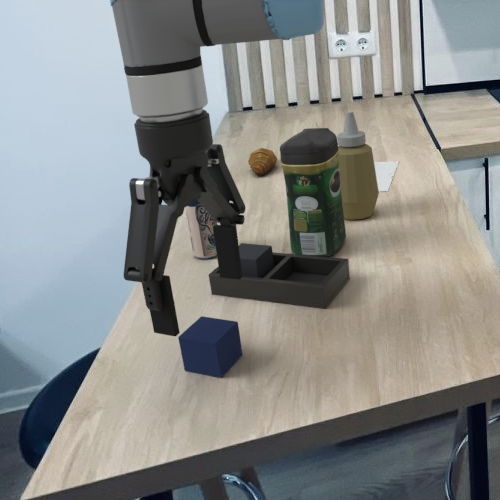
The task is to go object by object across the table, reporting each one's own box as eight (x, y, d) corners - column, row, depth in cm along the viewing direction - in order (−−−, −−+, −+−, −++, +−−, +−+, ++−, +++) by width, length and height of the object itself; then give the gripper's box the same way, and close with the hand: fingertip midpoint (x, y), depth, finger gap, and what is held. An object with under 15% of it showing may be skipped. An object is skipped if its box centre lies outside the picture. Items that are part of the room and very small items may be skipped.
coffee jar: (305, 235, 109) (294, 124, 102) (351, 237, 106) (343, 123, 99) (283, 258, 101) (270, 140, 94) (333, 262, 98) (322, 139, 91)
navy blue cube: (243, 355, 77) (237, 321, 75) (221, 378, 73) (215, 343, 71) (207, 348, 79) (201, 315, 78) (184, 370, 75) (177, 336, 74)
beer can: (212, 261, 104) (200, 189, 99) (187, 258, 106) (175, 188, 102) (227, 249, 108) (217, 179, 103) (203, 247, 110) (192, 178, 105)
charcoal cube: (275, 273, 95) (271, 245, 93) (259, 289, 91) (255, 259, 90) (245, 270, 98) (241, 242, 96) (228, 285, 94) (224, 256, 92)
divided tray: (242, 267, 100) (239, 249, 99) (350, 278, 92) (348, 258, 91) (211, 294, 93) (208, 274, 92) (325, 309, 85) (323, 287, 84)
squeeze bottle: (342, 206, 120) (334, 107, 113) (385, 207, 116) (380, 106, 110) (327, 222, 114) (317, 118, 107) (372, 224, 110) (366, 117, 103)
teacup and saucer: (359, 168, 141) (358, 149, 139) (353, 179, 134) (352, 160, 132) (319, 169, 143) (318, 151, 142) (311, 180, 137) (309, 161, 135)
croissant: (254, 162, 156) (252, 141, 155) (282, 159, 155) (280, 139, 153) (243, 179, 144) (240, 157, 142) (274, 177, 143) (271, 154, 141)
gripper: (204, 89, 77) (227, 255, 85) (54, 145, 57) (103, 355, 65) (261, 87, 73) (279, 261, 81) (122, 147, 53) (165, 368, 62)
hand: (201, 303), depth 73 cm, fingers open, 13 cm apart
